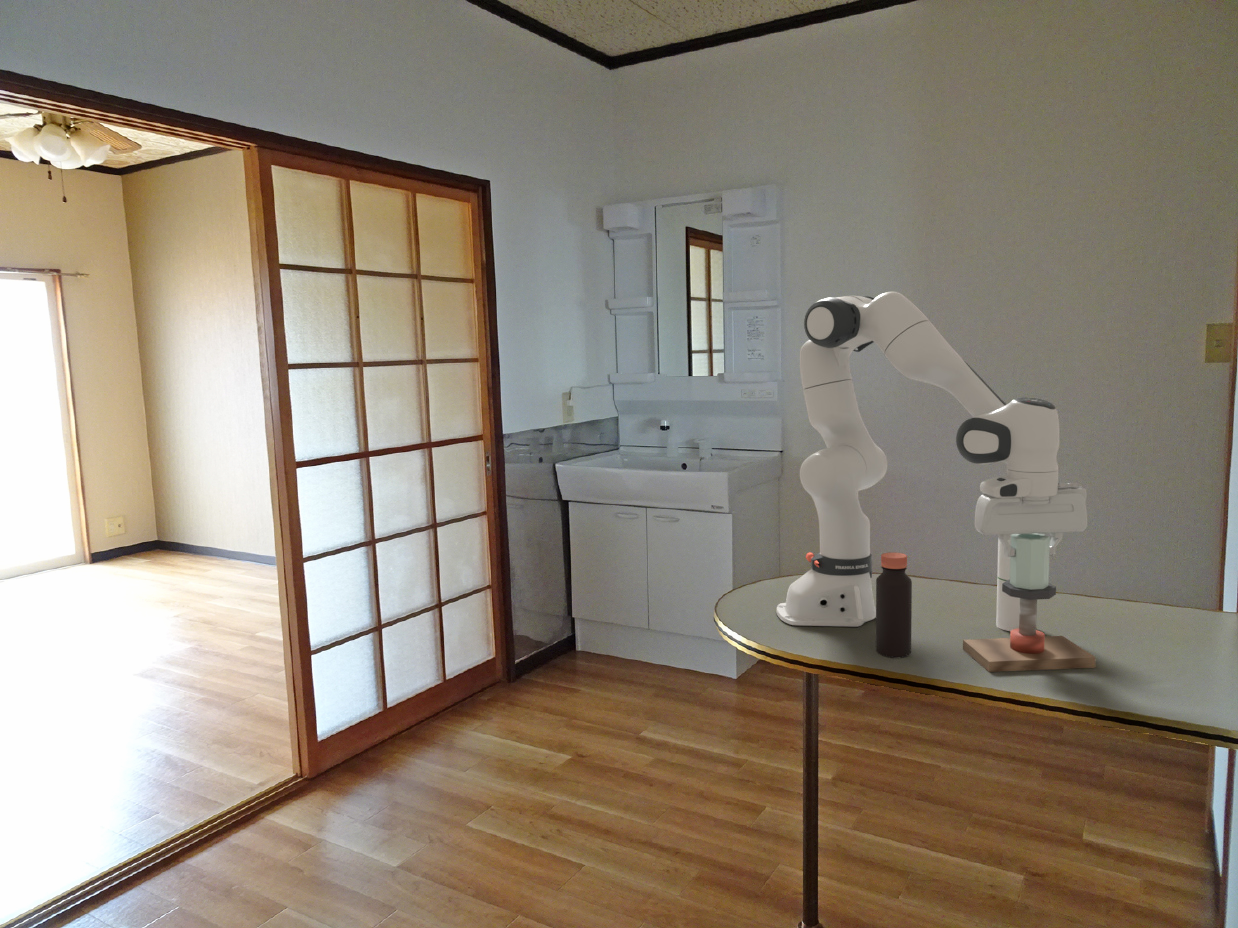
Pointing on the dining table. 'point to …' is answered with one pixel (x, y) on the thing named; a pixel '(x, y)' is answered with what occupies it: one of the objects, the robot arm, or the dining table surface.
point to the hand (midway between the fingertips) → (1029, 555)
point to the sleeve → (1030, 561)
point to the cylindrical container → (1005, 595)
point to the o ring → (1029, 592)
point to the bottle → (893, 607)
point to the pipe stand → (1028, 648)
